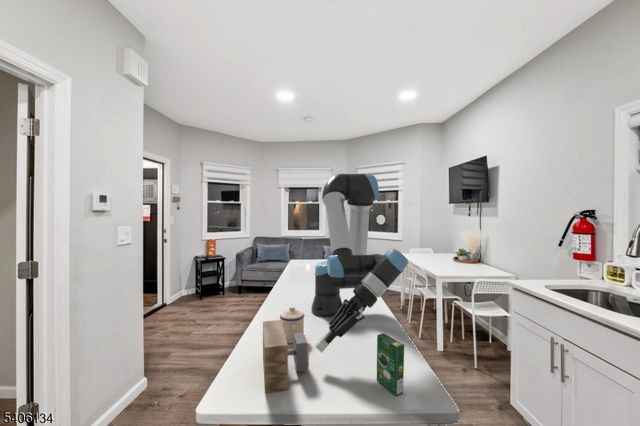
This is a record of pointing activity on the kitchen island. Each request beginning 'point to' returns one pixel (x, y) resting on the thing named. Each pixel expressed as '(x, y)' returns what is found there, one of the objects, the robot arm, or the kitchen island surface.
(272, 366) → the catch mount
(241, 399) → the kitchen island surface
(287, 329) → the teacup with lid
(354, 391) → the kitchen island surface
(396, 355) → the coffee box
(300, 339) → the gray housing block
